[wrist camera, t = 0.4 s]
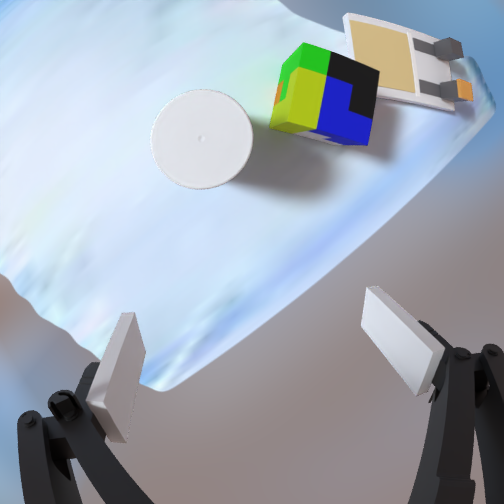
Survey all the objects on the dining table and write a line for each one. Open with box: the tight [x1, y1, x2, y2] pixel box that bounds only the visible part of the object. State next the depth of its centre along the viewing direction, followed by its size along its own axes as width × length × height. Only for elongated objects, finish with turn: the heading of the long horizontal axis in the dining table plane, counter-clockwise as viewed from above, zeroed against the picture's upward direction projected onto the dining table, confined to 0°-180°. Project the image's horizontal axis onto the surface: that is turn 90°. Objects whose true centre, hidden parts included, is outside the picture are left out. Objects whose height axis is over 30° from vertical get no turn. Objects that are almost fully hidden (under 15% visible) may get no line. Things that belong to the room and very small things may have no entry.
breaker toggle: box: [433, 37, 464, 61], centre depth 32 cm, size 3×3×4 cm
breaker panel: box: [343, 13, 455, 111], centre depth 36 cm, size 14×21×2 cm, turn 94°
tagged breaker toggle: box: [440, 79, 473, 102], centre depth 34 cm, size 3×3×5 cm
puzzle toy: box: [269, 42, 380, 146], centre depth 33 cm, size 10×10×10 cm
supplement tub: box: [150, 89, 253, 189], centre depth 31 cm, size 10×10×15 cm
